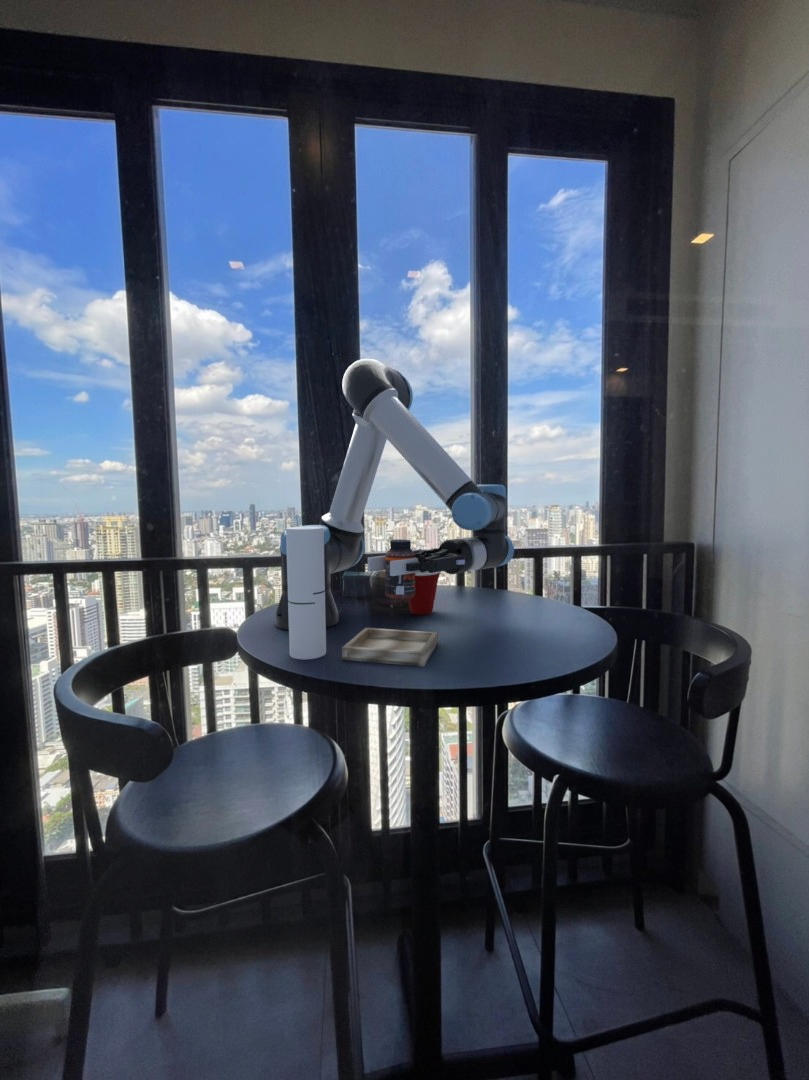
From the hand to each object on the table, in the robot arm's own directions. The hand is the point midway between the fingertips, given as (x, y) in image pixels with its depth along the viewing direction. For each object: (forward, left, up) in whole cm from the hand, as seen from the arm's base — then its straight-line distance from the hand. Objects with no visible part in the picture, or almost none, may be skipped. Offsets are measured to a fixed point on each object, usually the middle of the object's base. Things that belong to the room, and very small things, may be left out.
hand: (379, 566), depth 94 cm
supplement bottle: (+3, +4, -7) cm, 9 cm away
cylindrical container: (-15, -1, -18) cm, 23 cm away
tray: (+1, +4, -18) cm, 18 cm away
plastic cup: (0, +36, -18) cm, 40 cm away
